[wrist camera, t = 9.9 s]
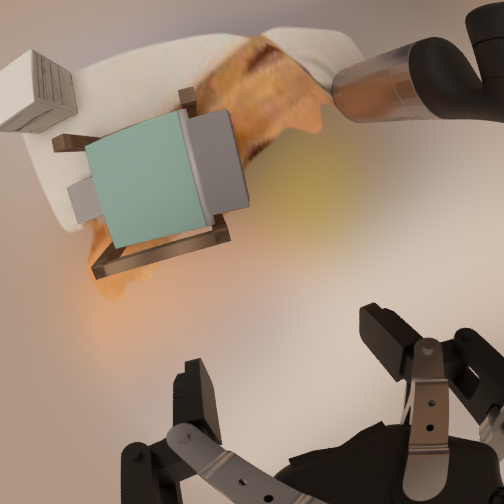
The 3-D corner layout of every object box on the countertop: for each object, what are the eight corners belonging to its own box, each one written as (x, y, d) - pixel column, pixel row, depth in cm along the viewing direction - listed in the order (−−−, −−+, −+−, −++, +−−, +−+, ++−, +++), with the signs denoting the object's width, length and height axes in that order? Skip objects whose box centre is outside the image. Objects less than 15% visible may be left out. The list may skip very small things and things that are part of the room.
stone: (106, 170, 29) (66, 187, 28) (118, 209, 31) (78, 224, 30) (117, 168, 33) (81, 182, 33) (127, 202, 35) (91, 215, 35)
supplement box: (39, 135, 29) (-12, 134, 17) (33, 92, 26) (-15, 79, 14) (79, 114, 29) (34, 102, 18) (72, 70, 26) (31, 46, 15)
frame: (194, 108, 33) (193, 86, 21) (219, 213, 38) (230, 240, 27) (93, 141, 31) (51, 139, 20) (122, 242, 37) (96, 279, 25)
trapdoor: (227, 102, 25) (223, 95, 21) (252, 209, 29) (252, 220, 25) (98, 145, 26) (77, 147, 22) (126, 239, 30) (110, 253, 26)
